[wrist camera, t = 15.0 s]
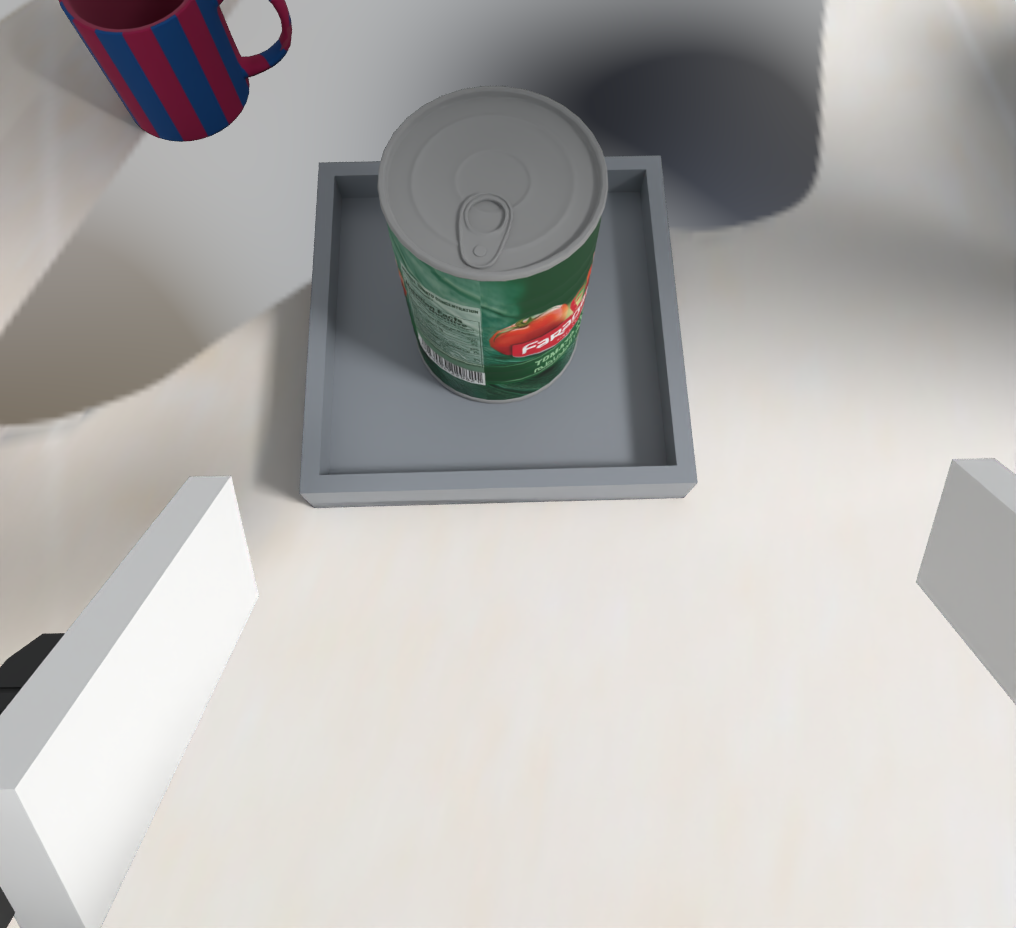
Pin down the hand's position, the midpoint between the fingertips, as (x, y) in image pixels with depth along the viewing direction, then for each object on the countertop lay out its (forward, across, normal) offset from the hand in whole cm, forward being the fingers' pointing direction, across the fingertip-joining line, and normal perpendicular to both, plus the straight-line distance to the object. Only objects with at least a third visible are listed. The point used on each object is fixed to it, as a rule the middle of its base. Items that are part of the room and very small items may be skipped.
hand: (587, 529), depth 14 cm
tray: (+23, -2, -4) cm, 24 cm away
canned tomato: (+23, -2, -3) cm, 23 cm away
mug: (+34, -17, +7) cm, 39 cm away
